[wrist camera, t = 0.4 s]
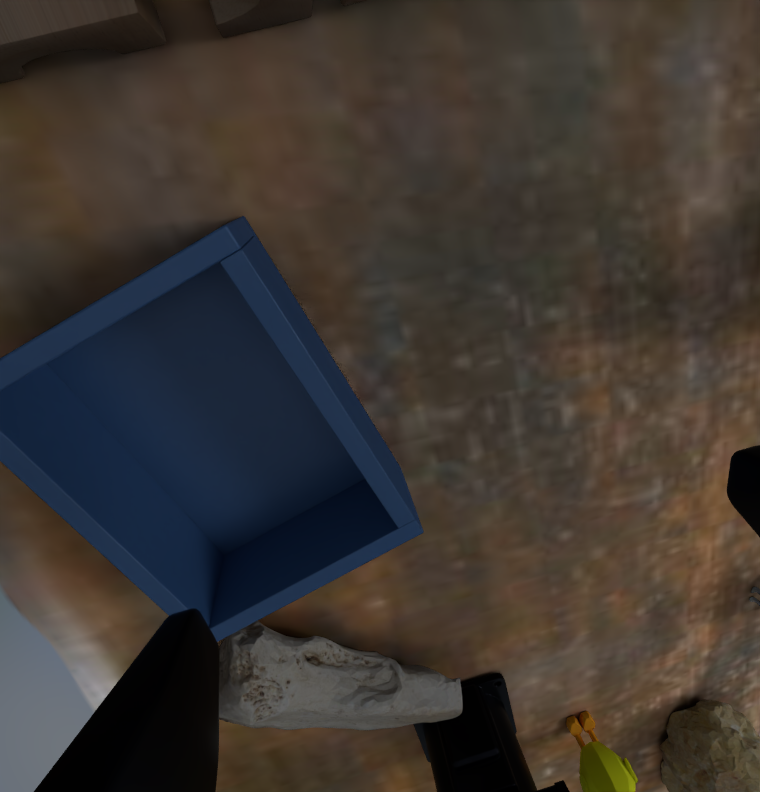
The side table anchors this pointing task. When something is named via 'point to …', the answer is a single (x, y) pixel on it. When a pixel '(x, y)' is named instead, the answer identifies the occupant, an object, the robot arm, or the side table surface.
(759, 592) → the stegosaurus
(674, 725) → the stone tool
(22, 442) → the blue box
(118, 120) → the side table surface
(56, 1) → the wooden blocks
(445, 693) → the bone fragment
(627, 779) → the toy figure
